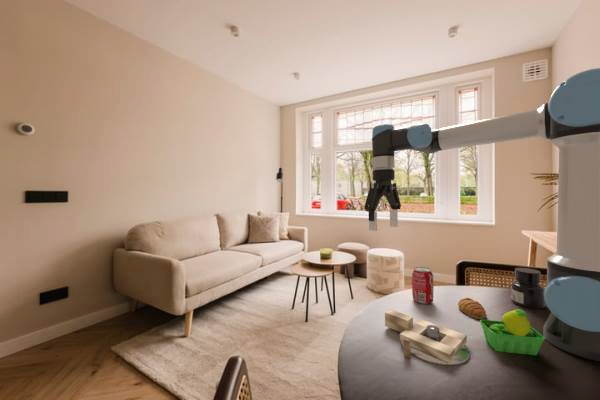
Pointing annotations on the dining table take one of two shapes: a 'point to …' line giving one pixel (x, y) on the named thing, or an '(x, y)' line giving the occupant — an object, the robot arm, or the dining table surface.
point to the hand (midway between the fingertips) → (383, 228)
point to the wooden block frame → (418, 331)
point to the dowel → (407, 347)
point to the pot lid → (457, 360)
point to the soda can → (422, 285)
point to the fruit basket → (512, 334)
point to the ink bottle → (527, 289)
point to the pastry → (472, 308)
